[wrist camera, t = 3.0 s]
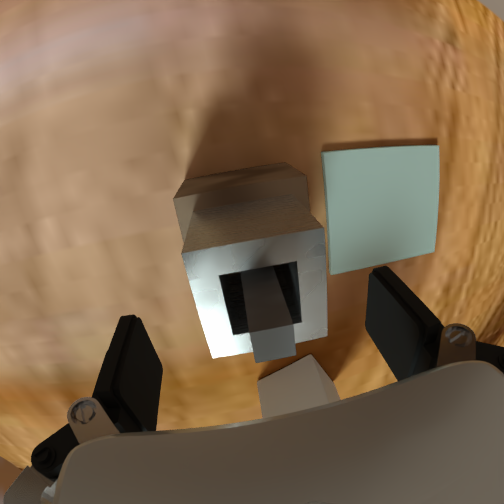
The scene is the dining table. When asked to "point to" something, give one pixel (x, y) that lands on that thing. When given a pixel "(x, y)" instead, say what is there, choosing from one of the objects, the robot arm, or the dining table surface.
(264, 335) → the post
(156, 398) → the robot arm
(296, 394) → the milk carton
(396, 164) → the mat
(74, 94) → the dining table surface
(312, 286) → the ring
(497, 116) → the dining table surface
